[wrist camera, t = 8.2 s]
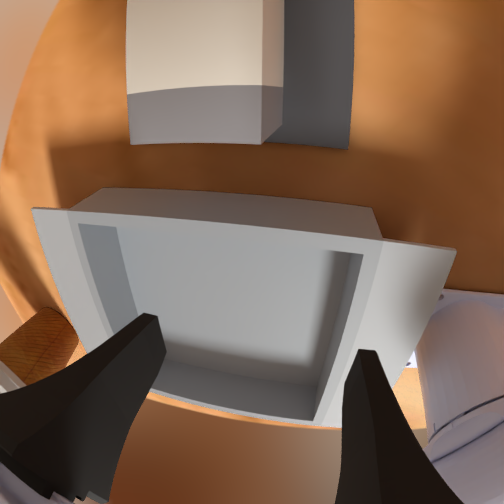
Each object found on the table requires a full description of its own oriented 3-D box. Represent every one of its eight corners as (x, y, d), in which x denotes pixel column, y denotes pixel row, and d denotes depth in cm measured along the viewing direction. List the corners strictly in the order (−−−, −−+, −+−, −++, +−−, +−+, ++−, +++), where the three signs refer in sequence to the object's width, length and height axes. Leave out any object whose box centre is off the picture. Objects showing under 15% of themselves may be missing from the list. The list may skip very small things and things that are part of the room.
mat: (350, -51, 9) (350, -53, 8) (347, 148, 15) (348, 149, 14) (142, -33, 11) (138, -35, 10) (142, 140, 17) (138, 141, 16)
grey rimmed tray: (433, 217, 15) (457, 251, 12) (365, 392, 24) (365, 428, 21) (66, 187, 20) (31, 208, 16) (115, 346, 29) (97, 373, 26)
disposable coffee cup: (54, 346, 34) (10, 406, 24) (23, 292, 29) (-35, 353, 19) (101, 361, 32) (53, 436, 22) (67, 300, 27) (-1, 380, 17)
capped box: (284, -31, 10) (263, -84, 5) (282, 124, 14) (260, 144, 9) (191, -23, 11) (133, -58, 6) (190, 122, 15) (130, 144, 10)
